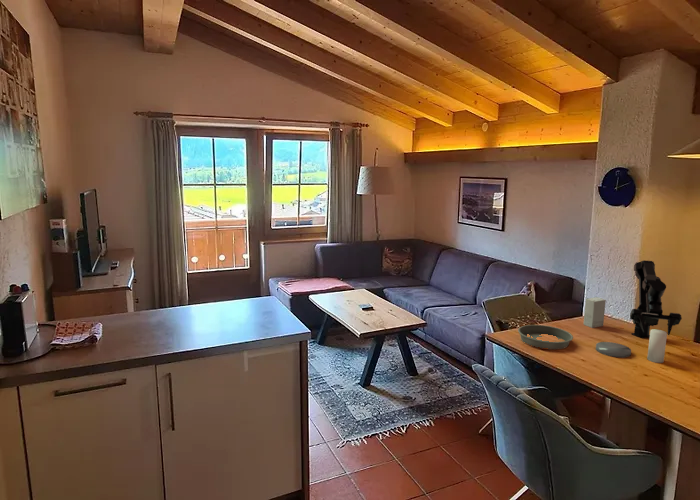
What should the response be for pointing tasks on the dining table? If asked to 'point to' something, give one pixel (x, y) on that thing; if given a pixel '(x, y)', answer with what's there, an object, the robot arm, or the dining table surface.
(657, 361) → the white post
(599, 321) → the skincare box
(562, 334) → the cake pan
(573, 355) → the dining table surface
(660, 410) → the dining table surface
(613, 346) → the slate plinth
